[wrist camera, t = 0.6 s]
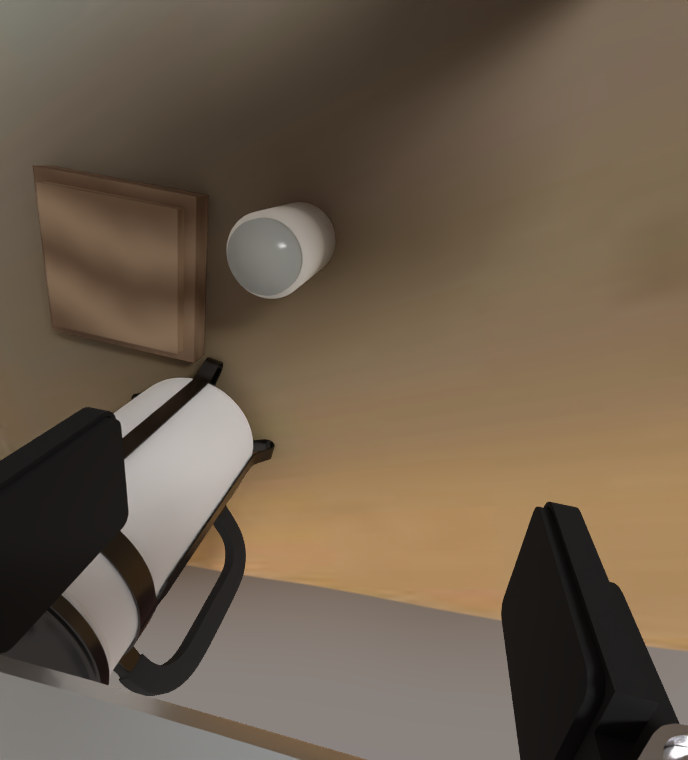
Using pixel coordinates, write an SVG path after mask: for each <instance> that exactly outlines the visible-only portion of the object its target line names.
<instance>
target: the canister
mask: <svg viewBox="0 0 688 760" xmlns="http://www.w3.org/2000/svg"><path fill="white" fill-rule="evenodd" d="M335 243H336V239H335V231H334V228H333V225H332V223H331V221H330V220H329V218H328V217H327V215H326V214H325V213H324V212H323V211H322V210H320V209H319V208H318V207H316V206H314V205H312V204H309V203H304V202H295V203H290V204H286V205H281V206H277V207H273V208H269V209H264V210H260V211H256V212H252V213H249V214H247V215H245V216H244V217H242V218H241V219H240V220H239V221H238V222H237V223H236V224H235V225H234V227H233V228H232V230H231V232H230V234H229V237H228V241H227V260H228V264H229V267H230V270H231V272H232V274H233V276H234V277H235V279H236V280H237V281H238V282H239V284H240V285H241V286H242V287H244V288H245V289H246V290H247V291H249V292H250V293H252V294H254V295H256V296H259V297H262V298H268V299H275V298H281V297H284V296H287V295H289V294H290V293H292V292H294V291H295V290H296V289H297V288H299V287H300V286H301V285H302V284H304V283H305V282H306V281H307V280H309V279H310V278H311V277H312V276H314V275H315V274H316V273H317V272H319V271H320V270H321V269H322V268H323V267H325V266H326V265H327V264H328V262H329V261H330V259H331V258H332V256H333V253H334V250H335Z"/></svg>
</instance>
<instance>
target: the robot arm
mask: <svg viewBox="0 0 688 760" xmlns="http://www.w3.org/2000/svg"><path fill="white" fill-rule="evenodd" d="M128 514H129V510H128V498H127V487H126V475H125V464H124V452H123V440H122V429H121V423H120V421H119V420H117V419H116V417H115V415H114V414H113V413H112V412H110V411H105V410H100V409H95V408H90V407H86V408H83V409H81V410H80V411H78V412H77V413H75V414H73V415H72V416H70V417H69V418H67V419H66V420H64V421H62V422H61V423H59V424H58V425H56V426H55V427H53V428H51V429H50V430H48V431H47V432H45V433H43V434H42V435H40V436H39V437H37V438H36V439H34V440H32V441H31V442H29V443H28V444H26V445H25V446H23V447H21V448H20V449H18V450H17V451H15V452H14V453H12V454H10V455H9V456H7V457H6V458H4V459H3V460H1V461H0V653H6V652H7V651H9V650H10V649H11V648H13V647H14V646H15V645H16V643H17V642H18V641H19V640H20V639H21V638H22V637H23V636H24V635H25V634H26V633H27V632H28V630H29V629H30V628H31V627H32V626H33V625H34V624H35V623H36V622H37V621H38V620H39V618H40V617H41V616H42V615H43V614H44V613H45V612H46V611H47V610H48V609H49V608H50V607H51V605H52V604H53V603H54V602H55V601H56V600H57V599H58V598H59V597H60V596H61V595H62V593H63V592H64V591H65V590H66V589H67V588H68V587H69V586H70V585H71V584H72V583H73V582H74V580H75V579H76V578H77V577H78V576H79V575H80V574H81V573H82V572H83V571H84V570H85V568H86V567H87V566H88V565H89V564H90V563H91V562H92V561H93V560H94V559H95V558H96V557H97V555H98V554H99V553H100V552H101V551H102V550H103V549H104V548H105V547H106V546H107V545H108V544H109V542H110V541H111V540H112V539H113V538H114V537H115V536H116V535H117V534H118V533H119V532H120V530H121V529H122V528H123V527H124V525H125V524H126V521H127V519H128ZM501 616H502V625H503V632H504V640H505V648H506V655H507V662H508V670H509V678H510V685H511V692H512V700H513V707H514V715H515V722H516V730H517V738H518V745H519V753H520V760H688V726H687V725H681V724H679V721H678V719H677V717H676V715H675V712H674V710H673V708H672V705H671V703H670V701H669V698H668V696H667V694H666V692H665V689H664V687H663V685H662V682H661V680H660V678H659V675H658V673H657V671H656V669H655V666H654V664H653V662H652V659H651V657H650V655H649V653H648V650H647V648H646V646H645V643H644V641H643V639H642V636H641V634H640V632H639V629H638V627H637V625H636V623H635V620H634V618H633V616H632V613H631V611H630V609H629V606H628V604H627V602H626V600H625V597H624V595H623V593H622V591H621V590H620V588H619V586H617V585H616V584H615V583H612V582H609V580H608V577H607V575H606V573H605V570H604V568H603V565H602V563H601V560H600V558H599V556H598V553H597V551H596V548H595V546H594V544H593V541H592V539H591V536H590V534H589V531H588V529H587V527H586V524H585V522H584V519H583V517H582V515H581V512H580V510H579V509H578V508H576V507H572V506H567V505H563V504H558V503H553V502H547V503H546V504H545V506H544V508H542V507H536V508H535V510H534V512H533V515H532V517H531V520H530V523H529V526H528V529H527V532H526V535H525V538H524V541H523V544H522V547H521V549H520V552H519V555H518V558H517V561H516V564H515V567H514V570H513V573H512V576H511V578H510V581H509V584H508V587H507V590H506V593H505V596H504V599H503V603H502V611H501ZM0 760H366V759H362V758H359V757H355V756H352V755H348V754H345V753H342V752H338V751H334V750H331V749H327V748H324V747H321V746H318V745H314V744H311V743H307V742H304V741H300V740H297V739H294V738H290V737H286V736H283V735H280V734H277V733H273V732H269V731H266V730H263V729H259V728H255V727H252V726H249V725H245V724H242V723H238V722H235V721H232V720H228V719H224V718H221V717H217V716H214V715H211V714H207V713H203V712H200V711H197V710H193V709H190V708H186V707H182V706H179V705H176V704H172V703H169V702H165V701H162V700H158V699H155V698H151V697H148V696H144V695H141V694H137V693H134V692H130V691H126V690H123V689H120V688H116V687H113V686H109V685H105V684H102V683H98V682H95V681H91V680H88V679H84V678H81V677H77V676H74V675H70V674H66V673H63V672H59V671H56V670H52V669H48V668H45V667H41V666H38V665H34V664H31V663H27V662H23V661H20V660H16V659H13V658H9V657H5V656H2V655H0Z"/></svg>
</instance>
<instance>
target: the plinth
mask: <svg viewBox="0 0 688 760" xmlns="http://www.w3.org/2000/svg"><path fill="white" fill-rule="evenodd" d="M33 173H34V181H35V189H36V197H37V206H38V214H39V222H40V230H41V239H42V247H43V255H44V263H45V271H46V280H47V288H48V296H49V304H50V312H51V321H52V329H53V330H55V331H60V332H64V333H68V334H72V335H77V336H81V337H85V338H90V339H94V340H98V341H102V342H107V343H111V344H115V345H120V346H124V347H128V348H132V349H137V350H141V351H145V352H150V353H154V354H158V355H163V356H167V357H171V358H175V359H180V360H184V361H188V362H193V363H194V362H195V361H197V360H198V359H199V358H201V357H202V356H203V355H204V341H205V303H206V265H207V227H208V195H204V194H199V193H193V192H188V191H183V190H177V189H172V188H167V187H161V186H156V185H151V184H146V183H140V182H135V181H130V180H124V179H119V178H114V177H108V176H103V175H98V174H93V173H87V172H82V171H77V170H71V169H66V168H61V167H55V166H33Z"/></svg>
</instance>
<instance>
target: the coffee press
mask: <svg viewBox="0 0 688 760" xmlns="http://www.w3.org/2000/svg"><path fill="white" fill-rule="evenodd" d="M222 368H223V362H220V361H218V360H215V359H212V358H209V357H208V358H207V359H206V360H205V362H204V363H203V365H202V367H201V369H200V370H199V372H198V374H197V375H196V376H195V378H194V379H192V378H171V379H166V380H163V381H160V382H158V383H156V384H154V385H153V386H151V387H149V388H148V389H147V390H145V391H144V392H142V393H138V394H134V395H133V396H132V400H131V401H130V402H128V403H127V404H126V405H124V406H123V407H122V408H120V409H119V410H117V411H116V412H115V413H113V414H114V415H115V417H116V419H117V420H119V421H120V423H121V429H122V440H123V452H124V464H125V475H126V487H127V498H128V510H129V514H128V519H127V521H126V524H125V525H124V527H123V528H122V529H121V530H120V532H119V533H118V534H117V535H116V536H115V537H114V538H113V539H112V540H111V541H110V542H109V544H108V545H107V546H106V547H105V548H104V549H103V550H102V551H101V552H100V553H99V554H98V555H97V557H96V558H95V559H94V560H93V561H92V562H91V563H90V564H89V565H88V566H87V567H86V568H85V570H84V571H83V572H82V573H81V574H80V575H79V576H78V577H77V578H76V579H75V580H74V582H73V583H72V584H71V585H70V586H69V587H68V588H67V589H66V590H65V591H64V592H63V593H62V595H61V596H60V597H59V598H58V599H57V600H56V601H55V602H54V603H53V604H52V605H51V607H50V608H49V609H48V610H47V611H46V612H45V613H44V614H43V615H42V616H41V617H40V618H39V620H38V621H37V622H36V623H35V624H34V625H33V626H32V627H31V628H30V629H29V630H28V632H27V633H26V634H25V635H24V636H23V637H22V638H21V639H20V640H19V641H18V642H17V643H16V645H15V646H14V647H13V648H11V649H10V650H9V651H7V652H6V653H0V655H2V656H5V657H9V658H13V659H16V660H20V661H23V662H27V663H31V664H34V665H38V666H41V667H45V668H48V669H52V670H56V671H59V672H63V673H66V674H70V675H74V676H77V677H81V678H84V679H88V680H91V681H95V682H98V683H102V684H105V685H109V680H110V674H111V672H112V671H115V672H116V673H117V674H118V675H119V677H120V679H119V681H120V682H121V683H122V684H123V685H124V686H125V687H126V688H128V689H129V690H131V691H133V692H134V693H137V694H141V695H144V696H155V695H160V694H164V693H169V692H171V691H173V690H175V689H176V688H178V687H179V686H181V685H182V684H183V683H184V682H185V681H186V680H187V679H188V678H189V677H190V676H191V675H192V673H193V672H194V671H195V669H196V668H197V667H198V665H199V663H200V662H201V660H202V658H203V657H204V655H205V653H206V651H207V649H208V647H209V646H210V644H211V641H212V640H213V638H214V636H215V634H216V632H217V630H218V628H219V626H220V624H221V622H222V620H223V618H224V616H225V614H226V612H227V610H228V608H229V606H230V604H231V602H232V600H233V598H234V596H235V594H236V592H237V589H238V587H239V585H240V582H241V580H242V576H243V573H244V569H245V562H246V551H245V544H244V540H243V536H242V533H241V531H240V529H239V527H238V525H237V523H236V521H235V519H234V518H233V516H232V514H231V513H230V511H229V510H228V508H227V506H226V504H227V502H228V501H229V500H230V498H231V497H232V495H233V494H234V492H235V491H236V489H237V488H238V486H239V485H240V483H241V481H242V479H243V478H244V476H245V475H246V473H247V472H248V471H249V469H250V468H251V467H252V466H253V465H254V464H257V463H259V462H263V461H266V460H269V459H271V457H272V454H273V450H274V446H275V445H274V443H273V442H272V441H270V440H265V439H264V440H253V438H252V432H251V429H250V426H249V423H248V421H247V419H246V417H245V415H244V413H243V412H242V410H241V409H240V408H239V406H238V405H237V404H236V403H235V402H234V401H233V400H232V399H231V398H230V397H229V396H228V395H227V394H225V393H224V392H223V391H221V390H220V389H218V388H217V387H215V384H216V382H217V380H218V378H219V376H220V373H221V371H222ZM256 451H260V452H257V453H255V454H254V455H253V456H252V453H253V452H256ZM212 525H214V526H215V528H216V529H217V531H218V532H219V534H220V536H221V537H222V539H223V542H224V545H225V564H224V568H223V570H222V573H221V575H220V577H219V578H218V580H217V582H216V584H215V586H214V587H213V589H212V591H211V593H210V595H209V596H208V598H207V600H206V602H205V603H204V605H203V607H202V609H201V611H200V613H199V614H198V616H197V618H196V620H195V621H194V623H193V625H192V627H191V628H190V630H189V632H188V634H187V635H186V637H185V639H184V641H183V642H182V644H181V646H180V647H179V649H178V650H177V652H176V653H175V654H174V656H173V657H172V658H171V659H170V660H169V661H168V662H166V663H164V664H163V665H157V664H155V663H153V662H151V661H150V660H149V659H147V658H146V657H145V656H144V655H143V654H141V655H140V654H139V653H138V651H137V650H136V649H135V648H134V644H135V643H136V641H137V640H138V638H139V637H140V635H141V634H142V632H143V631H144V629H145V628H146V626H147V624H148V623H149V621H150V619H151V618H152V615H153V613H154V612H155V609H156V607H157V606H158V604H159V603H160V602H161V600H162V599H163V598H164V597H165V596H166V594H167V593H168V591H169V590H170V588H171V587H172V585H173V584H174V582H175V580H176V579H177V577H178V576H179V574H180V573H181V572H182V570H183V568H184V567H185V565H186V564H187V562H188V561H189V559H190V558H191V556H192V555H193V553H194V552H195V550H196V549H197V547H198V546H199V544H200V543H201V541H202V540H203V538H204V537H205V535H206V534H207V532H208V531H209V529H210V528H211V526H212Z"/></svg>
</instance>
